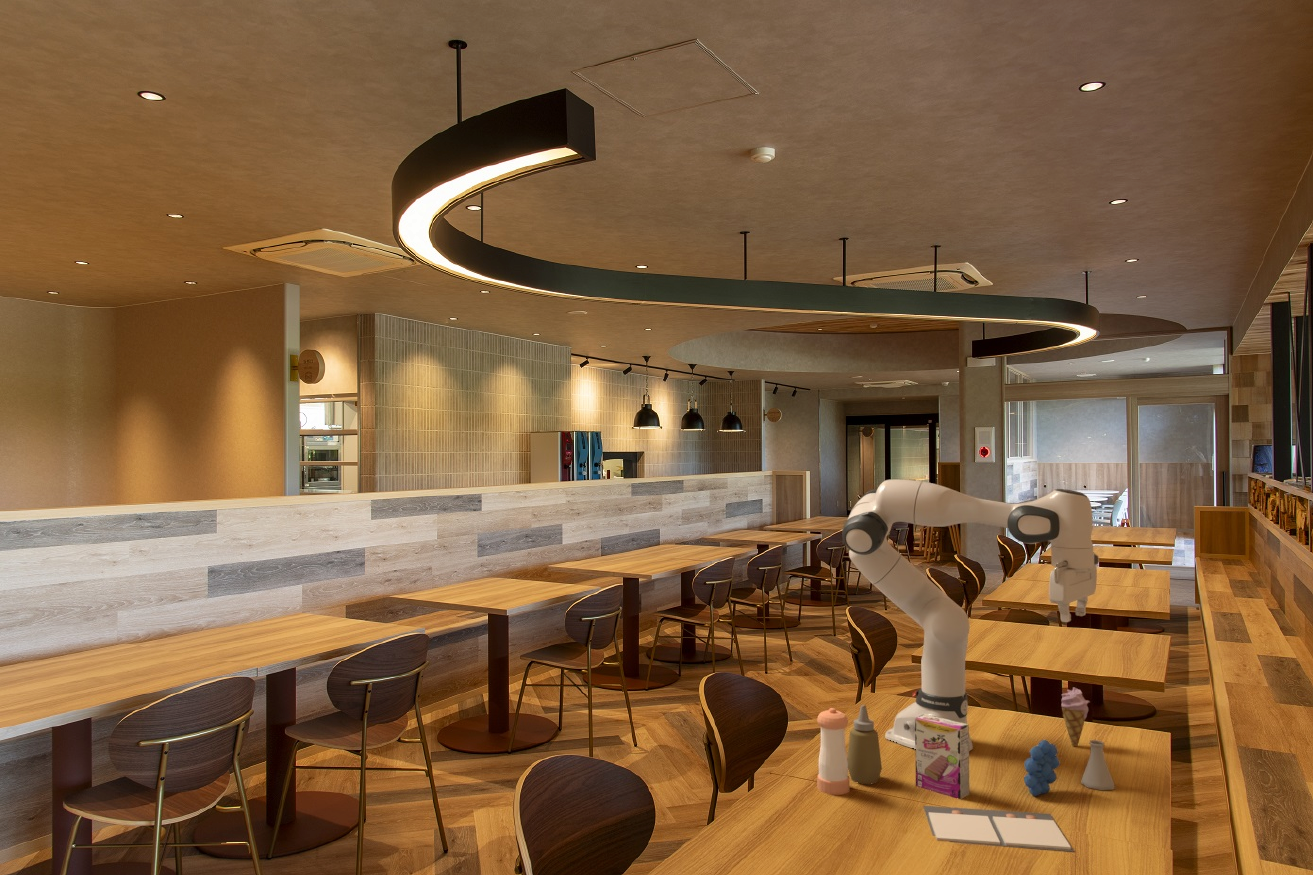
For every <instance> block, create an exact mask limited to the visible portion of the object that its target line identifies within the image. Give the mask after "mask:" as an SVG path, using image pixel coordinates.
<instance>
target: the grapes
mask: <svg viewBox="0 0 1313 875" xmlns="http://www.w3.org/2000/svg"><path fill="white" fill-rule="evenodd" d="M1029 754H1030V757H1028V758H1027V759H1026V760H1024V764H1023V765H1024V766H1023V767H1024V769H1025V772H1027V774H1026V775H1025V776H1024V777H1023V781H1024V784H1025V785H1026V787H1027V788H1028V790H1029V793H1030V794H1031V796H1034V797H1037V796H1039V795H1040V794H1041V795H1045V794H1047V793H1048V792H1049V791H1050V790H1051V787H1050V786H1051V785H1052V784H1053V783H1055V781H1057V779H1058V778H1057V774H1056V772H1055V770H1056V769H1058V767H1059V766H1060V765H1061V764H1060V759H1059V758H1058V756H1057V755H1058V748H1057V747H1056V744H1054V743H1050V742H1049V741H1048V740H1047V739H1042V740H1041V741H1039V742H1038V744H1037V745H1035V746H1033V747H1032V748H1031V749H1030V750H1029ZM1050 784H1051V785H1050Z"/></svg>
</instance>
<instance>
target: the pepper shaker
mask: <svg viewBox="0 0 1313 875" xmlns="http://www.w3.org/2000/svg"><path fill="white" fill-rule="evenodd" d="M816 721H817V725H819V727H820V749H819V757H818V774H817V777H816V780H817V781H816V782H817V783H816V784H817V785H816V786H817V787H816V788H817V789H818V790H819V791H820V792H821V793H823V794H827V795H834V796H837V795H840V796H841V795H847V794H848V793H850V777H849V776H850V775H848V774H849V770H848V760H847V758H848V753H847V750H846V734H845V732H846V731H845V730H846V728H847V727H848V724H849V719H848V717H847V715H846V714H845V713H843V712H841V711H840V710H836V708H834V707H830V708H829V709H828V710H827V709H826V710H824V711H821V712H819V714H818V716H817V718H816Z"/></svg>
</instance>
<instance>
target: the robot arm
mask: <svg viewBox="0 0 1313 875" xmlns="http://www.w3.org/2000/svg"><path fill="white" fill-rule="evenodd" d="M1093 520H1094V519H1093V510H1092V504H1091V501H1090V498H1089V497H1088V496H1087V495H1086V494H1085V493H1083V492H1081V491H1077V490H1071V489H1063V488H1057V489H1054V490H1052V492H1049V493H1047V494H1046V495H1043V496H1042V497H1040V498H1036V499H1030V500H1025V501H1021V502H1013V503H1012V502H1007V501H1006V502H1003V501H999V500H992V499H985V498H980V497H975V496H971V495H969V494H965V493H963V492H959V491H958V490H954V489H952V488H949V487H946V486H944V485H940V484H936V483H931V482H928V481H923V480H922V481H921V480H915V479H903V478H902V479H898V478H897V479H896V478H895V479H894V478H893V479H886V480H884V481H883V482H881V483H880V484H879V485H878V488H874V489H871V490H868V491H867V492H865V493H864V494H863V495H862V496H861V497H860V498H859V499H858V501H857V502H856V503H855V505H854V506H853V507H852V509H851V510H850V513H849V515H848V517H847V520H846V521H845V522H844V524H843V528H842V531H841V534H842V535H841V536H842V538H841V539H842V542H843V543H844V545H845V547H846V548H847V549H848V550H849V551H848V557H849V559H850V561H851V563H852V564H854V566H855V567H856V569H857V570H858V571H859V572H860V573H861V574H862V575H863V577H865V579H867V581H869V582H870V583H871V584H872V585H873V586H874V587H875V588H876V589H877V590H879V591H880V592H881V593H882V594H883V595H884V596H885V597H886V598H888V599H889V601H891V602H892V603H893V604H894V605H895V606H896V607H898V608H899V609H900V610H902V612H904V613H905V614H906V615H907V616H908V617H909V618H911V620H913V621H914V622H915V623H917V624H918V625H919V626H920V627H921V628H922V629H923V634H924V635H923V636H924V638H923V650H922V654H921V661H920V662H921V664H920V667H921V668H920V669H921V670H920V672H921V673H920V674H921V676H920V677H921V678H920V679H921V687H920V688H919V689H917V690H915V691H914V692H912V698H914V697H915V701H914V702H913V703H911V704H909V705H908V706H906V707H905V708H903V709H902V710H900V711H899V712H898V713H897V714H896V716H895V718H894V722H893V727H892V728H889V729H888V730H887V731H886V732H885V736H884V738H886V739H885V740H887V739H888V740H887V741H890V740H891V742H893V741H894V743H896V742H897V743H896V744H899V745H902V746H905V747H908V748H911V749H912V748H914V749H913V750H915V718H916V717H919V716H921V715H923V714H928V715H932V716H936V717H940V718H944V719H948V720H952V721H956V722H960V723H965V724H968V718H967V715H968V693H967V692H966V657H967V651H968V642H969V635H970V634H969V633H970V630H971V629H970V620H969V616H968V615H967V612H966V611H965V609H963V608H962V607H961V606H960V605H959V604H957V603H956V602H955V601H954V600H953V599H951V597H949V596H948V595H947V594H946V593H945V592H944V591H943V590H942V589H940V588H939V587H938V586H937V585H936V584H935V583H933V582H932V580H930V579H929V578H928V577H927V576H925V574H923V572H921V570H919V569H918V568H917V567H916V566H914V564H912V563H911V562H910V561H909V560H908V559H906V558H905V557H904V556H903V555H902V554H901V553H900V552H899V551H898V550H896V549H895V548H894V547H893V546H892V545H891V544H890V543H889V541H888V539H887V537H888V535H889V534H890V532H891V529H892V526H893V525H894V523H898V522H903V523H908V524H913V525H918V526H923V527H935V528H936V527H937V528H938V527H939V528H940V527H941V528H942V527H944V528H945V527H949V526H954V525H958V524H966V523H968V524H969V523H970V524H971V523H974V524H982V525H988V526H993V527H998V528H999V527H1000V528H1005V529H1008V531H1009V534H1010V535H1011V536H1012V537H1013V538H1014V539H1015V540H1017V541H1018V542H1021V543H1024V544H1029V545H1035V544H1039V543H1043V542H1050V550H1051V552H1050V553H1051V554H1050V555H1051V556H1050V559H1051V561H1050V562H1051V564H1050V565H1051V566H1053V567H1054V568H1053V569H1052V570H1051V571H1050V575H1049V581H1048V582H1049V586H1048V598H1049V602H1050V603H1051V604H1055V605H1056V604H1057V608H1058V611H1059V614H1060V621H1061V622H1062V623H1069V622H1071V621H1072V614H1071V613H1070V605H1071V604H1070V603H1072V602H1075V601H1076V607H1075V608H1074V609H1075V616H1077V617H1078V616H1079V617H1083V616H1086V614H1087V613H1086V611H1087V610H1086V608H1087V605H1088V600H1089V598H1088V597H1089V596H1093V595H1095V593H1096V589H1097V581H1098V579H1097V577H1098V568H1097V565H1099V563H1100V557H1099V555H1098V554H1096V553H1095V552H1094V544H1093V540H1092V531H1093V530H1094V527H1093V526H1094V525H1093V524H1094V523H1093ZM973 747H974V746H973V743H972V739H971V736H970V734H969V752H970V751H971V750H973Z"/></svg>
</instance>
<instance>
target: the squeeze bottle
mask: <svg viewBox="0 0 1313 875" xmlns="http://www.w3.org/2000/svg"><path fill="white" fill-rule="evenodd" d="M874 725H875V724H874V720H873V719H870V718H869V714H868V710H867V706H866V705H863V704H862V705H860V709H859V714H858V717H857V718H856V719H853V728H852V729H850V730H849V736H848V738H849V739H848V746H847V747H848V749H847V760H848V774H849V776H850V779H851V781H852V782H854V783H856V782H858V783H857V784H860V783H863V784H862V785H872V784H871V783H874V784H876V783H875V782H877V783H878V781H879V779H880V775H881V772H882V769H883V767H882V758H881V752H880V751H881V749H880V740H879V733H878V732H877V730H875V726H874Z"/></svg>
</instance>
